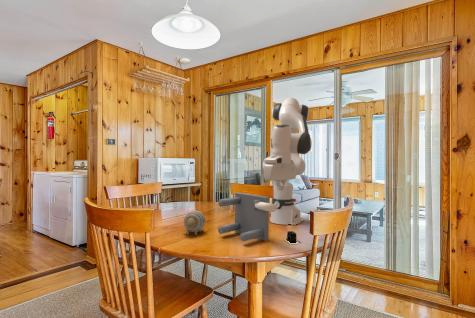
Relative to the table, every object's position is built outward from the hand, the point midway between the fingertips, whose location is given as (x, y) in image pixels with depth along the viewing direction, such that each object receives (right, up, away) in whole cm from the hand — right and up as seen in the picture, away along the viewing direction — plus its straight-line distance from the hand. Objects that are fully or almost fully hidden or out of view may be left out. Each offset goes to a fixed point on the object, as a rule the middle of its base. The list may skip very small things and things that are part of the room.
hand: (280, 190), depth 124 cm
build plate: (+5, -25, +2) cm, 25 cm away
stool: (-17, -23, +5) cm, 30 cm away
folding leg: (-8, -9, -2) cm, 12 cm away
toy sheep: (-41, -23, +13) cm, 49 cm away
